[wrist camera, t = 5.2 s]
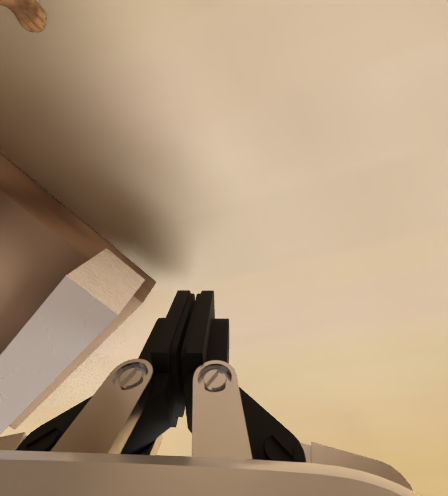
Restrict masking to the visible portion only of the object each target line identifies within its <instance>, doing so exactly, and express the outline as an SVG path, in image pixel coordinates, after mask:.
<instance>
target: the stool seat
mask: <svg viewBox="0 0 448 496" xmlns="http://www.w3.org/2000/svg"><path fill="white" fill-rule="evenodd" d="M106 248H107V249H108V250H110V251H111V252H112V253H113V254H114V255H116V256H117V257H118V258H119V259H120V260H122V261H123V262H124V263H125V264H127V265H128V266H129V267H130V268H131V269H133V270H134V271H135V272H136V273H138V274H139V275H140V276H141V277H142V278H144V279H145V281H144V282H143V283H142V285H141V286H140V287H139V289H138V290H137V291H136V292H135V294H134V295H133V296H132V298H131V299H130V300H129V302H128V303H127V304H126V305H125V307H124V308H123V309H122V311H121V312H120V313H119V315H118V316H117V317H116V318H115V319H114V320H113V321H112V322H111V323H110V324H109V325H108V326H107V327H106V328H105V329H104V330H103V331H102V332H101V333H100V334H99V335H98V336H97V337H96V338H95V339H94V340H93V341H92V342H91V343H90V344H89V345H88V346H87V347H86V348H85V349H84V350H83V351H82V352H81V353H80V354H79V355H78V356H77V357H76V358H75V359H74V360H73V361H72V362H71V363H70V364H69V365H68V366H67V367H66V369H65V370H64V371H63V372H62V373H61V374H60V375H59V376H58V377H57V378H56V379H55V380H54V381H53V382H52V383H51V384H50V385H49V386H48V387H47V388H46V389H45V390H44V391H43V392H42V393H41V394H40V395H39V396H38V397H37V398H36V399H35V400H34V401H33V402H32V403H31V404H30V405H29V406H28V407H27V408H26V409H25V410H24V411H23V412H22V413H21V414H20V415H19V416H18V417H17V418H16V419H15V420H14V421H13V422H12V423H11V424H10V425H9V426H10V427H12V428H13V429H16V428H17V427H18V426H19V425H20V424H21V423H22V422H23V421H24V420H25V419H26V418H27V417H28V416H29V415H30V414H31V413H32V412H33V411H34V410H35V409H36V408H37V407H38V406H39V405H40V404H41V403H42V402H43V401H44V400H45V399H46V398H47V397H48V396H49V395H50V394H51V393H52V392H53V391H54V390H55V389H56V388H57V387H58V386H59V385H60V384H61V383H62V382H63V381H64V380H65V379H66V378H67V377H68V376H69V375H70V374H71V373H72V372H73V371H74V370H75V369H76V368H77V367H78V366H79V365H80V364H81V363H82V362H83V361H84V360H85V359H87V358H88V357H89V356H90V355H91V354H92V353H93V352H94V351H95V350H96V349H97V348H98V347H99V346H100V345H101V344H102V343H103V342H104V341H105V340H106V339H107V338H108V337H109V336H110V335H111V334H112V333H113V332H114V331H115V330H116V329H117V328H118V327H119V326H120V325H121V324H122V323H123V322H124V321H125V320H126V319H127V318H128V317H129V316H130V315H131V314H132V313H133V312H134V311H135V310H136V309H137V308H138V307H139V306H140V305H141V304H142V303H143V301H144V300H145V298H146V297H147V295H148V294H149V292H150V291H151V289H152V288H153V286H154V285H155V283H156V282H155V281H154V280H153V279H151V278H150V277H149V276H148V275H146V274H145V273H144V272H143V271H142V270H140V269H139V268H138V267H137V266H136V265H134V264H133V263H132V262H131V261H130V260H128V259H127V258H126V257H125V256H124V255H122V254H121V253H120V252H119V251H118V250H116V249H115V248H114V247H113V246H112V245H110V244H109V243H108V242H107V241H105V240H104V239H103V238H102V237H101V236H99V235H98V234H97V233H96V232H95V231H93V230H92V229H91V228H90V227H89V226H87V225H86V224H85V223H84V222H83V221H81V220H80V219H79V218H78V217H77V216H75V215H74V214H73V213H72V212H70V211H69V210H68V209H67V208H66V207H64V206H63V205H62V204H61V203H60V202H58V201H57V200H56V199H55V198H54V197H52V196H51V195H50V194H49V193H48V192H46V191H45V190H44V189H43V188H42V187H40V186H39V185H38V184H37V183H35V182H34V181H33V180H32V179H31V178H29V177H28V176H27V175H26V174H25V173H23V172H22V171H21V170H20V169H19V168H17V167H16V166H15V165H14V164H13V163H11V162H10V161H9V160H8V159H7V158H5V157H4V156H3V155H2V154H0V355H1V354H2V352H3V351H4V350H5V349H6V348H7V346H8V345H9V344H10V343H11V342H12V340H13V339H14V338H15V337H16V335H17V334H18V333H19V332H20V331H21V329H22V328H23V327H24V326H25V325H26V323H27V322H28V321H29V320H30V319H31V317H32V316H33V315H34V314H35V312H36V311H37V310H38V309H39V308H40V306H41V305H42V304H43V303H44V302H45V300H46V299H47V298H48V297H49V295H50V294H51V293H52V292H53V291H54V289H55V288H56V287H57V286H58V285H59V283H60V282H61V281H62V280H63V279H64V277H65V276H66V275H67V274H69V273H70V272H72V271H73V270H75V269H76V268H78V267H79V266H81V265H82V264H84V263H85V262H87V261H88V260H90V259H91V258H93V257H94V256H96V255H97V254H99V253H100V252H102V251H103V250H105V249H106Z"/></svg>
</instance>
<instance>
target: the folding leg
mask: <svg viewBox="0 0 448 496" xmlns="http://www.w3.org/2000/svg"><path fill="white" fill-rule="evenodd" d="M144 281H145V279H144V278H142V277H141V276H140V275H139V274H138V273H136V272H135V271H134V270H133V269H131V268H130V267H129V266H128V265H127V264H125V263H124V262H123V261H122V260H120V259H119V258H118V257H117V256H116V255H114V254H113V253H112V252H111V251H110V250H108V249H107V248H106V249H105V250H103V251H102V252H100V253H99V254H97V255H96V256H94V257H93V258H91V259H90V260H88V261H87V262H85V263H84V264H82V265H81V266H79V267H78V268H76V269H75V270H73V271H72V272H70V273H69V274H67V275H66V276H65V277H64V279H63V280H62V281H61V282H60V283H59V285H58V286H57V287H56V288H55V289H54V291H53V292H52V293H51V294H50V295H49V297H48V298H47V299H46V300H45V302H44V303H43V304H42V305H41V306H40V308H39V309H38V310H37V311H36V312H35V314H34V315H33V316H32V317H31V319H30V320H29V321H28V322H27V323H26V325H25V326H24V327H23V328H22V329H21V331H20V332H19V333H18V334H17V335H16V337H15V338H14V339H13V340H12V342H11V343H10V344H9V345H8V346H7V348H6V349H5V350H4V351H3V352H2V354H1V355H0V434H1V433H2V432H3V431H4V430H5V429H6V428H7V427H8V426H9V425H10V424H11V423H12V422H13V421H14V420H15V419H16V418H17V417H18V416H19V415H20V414H21V413H22V412H23V411H24V410H25V409H26V408H27V407H28V406H29V405H30V404H31V403H32V402H33V401H34V400H35V399H36V398H37V397H38V396H39V395H40V394H41V393H42V392H43V391H44V390H45V389H46V388H47V387H48V386H49V385H50V384H51V383H52V382H53V381H54V380H55V379H56V378H57V377H58V376H59V375H60V374H61V373H62V372H63V371H64V370H65V369H66V367H67V366H68V365H69V364H70V363H71V362H72V361H73V360H74V359H75V358H76V357H77V356H78V355H79V354H80V353H81V352H82V351H83V350H84V349H85V348H86V347H87V346H88V345H89V344H90V343H91V342H92V341H93V340H94V339H95V338H96V337H97V336H98V335H99V334H100V333H101V332H102V331H103V330H104V329H105V328H106V327H107V326H108V325H109V324H110V323H111V322H112V321H113V320H114V319H115V318H116V317H117V316H118V315H119V313H120V312H121V311H122V309H123V308H124V307H125V305H126V304H127V303H128V302H129V300H130V299H131V298H132V296H133V295H134V294H135V292H136V291H137V290H138V289H139V287H140V286H141V285H142V283H143V282H144Z"/></svg>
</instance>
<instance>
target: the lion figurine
mask: <svg viewBox="0 0 448 496" xmlns="http://www.w3.org/2000/svg"><path fill="white" fill-rule="evenodd" d="M0 4H1V5H4V6H6V7H8V8H9V9H11V10H12V11H13V12H14V13H15V15H16V16H17V18H18V20H19V22H20V23H21V25H22V26H23V27H24V28H25V29H26V30H28V31H30V32H40V31H42V30H43V29H44V28H45V26H46V18H47V17H46V13H45V11H44V10H43V8H42V7H41V6H40V5H39V4H38V3H37V2H36V1H35V0H0Z"/></svg>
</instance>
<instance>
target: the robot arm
mask: <svg viewBox="0 0 448 496" xmlns="http://www.w3.org/2000/svg"><path fill="white" fill-rule="evenodd" d="M185 406H186V416H187V424H188V429H189V430H190V432H191V433H192V457H185V456H160V455H156V454H157V452H158V449H159V447H160V444H161V440H162V433H164V432H165V431H166V430H167V429H169V428H170V427H176V425H177V420H178V417H183V415H184V410H185ZM0 496H421V495H420V494H418V493H416V492H414V491H413V490H412V488H411V486H410V484H409V483H408V482H407V481H406V479H405V478H404V477H403V476H402V475H401V474H400V473H399V472H398V471H397V470H395V469H394V468H393V467H392V466H390V465H388V464H386V463H383V462H381V461H378V460H375V459H371V458H367V457H364V456H360V455H357V454H353V453H349V452H346V451H342V450H339V449H335V448H332V447H328V446H324V445H321V444H317V443H314V442H311V446H310V445H306V444H303V443H300V442H299V441H298V440H297V438H296V437H295V436H294V435H293V434H292V433H291V432H290V431H289V430H287V429H286V428H285V427H284V426H283V425H282V424H281V423H280V422H278V421H277V420H276V419H275V418H274V417H273V416H272V415H270V414H269V413H268V412H267V411H266V410H265V409H264V408H262V407H261V406H260V405H259V404H258V403H257V402H256V401H255V400H253V399H252V398H251V397H250V396H249V395H248V394H247V393H245V392H244V391H243V390H242V389H241V388H240V387H239V386H238V380H237V375H236V372H235V370H234V368H233V367H232V366H231V365H230V364H229V319H215V312H214V291H202V292H201V294H197V297H196V300H195V295H194V294H191V293H190V291H178V292H177V294H176V296H175V298H174V301H173V303H172V305H171V307H170V310H169V312H168V314H167V316H166V318H159V319H158V320H157V321H156V323H155V325H154V328H153V330H152V332H151V334H150V336H149V338H148V340H147V342H146V344H145V346H144V348H143V350H142V352H141V354H140V356H139V358H138V359H132V360H128V361H126V362H123V363H121V364H120V365H118V366H117V367H116V368H115V369H114V370H113V371H112V372H111V373H110V374H109V376H108V377H107V378H106V380H105V381H104V382H103V384H102V385H101V386H100V387H99V389H98V390H97V391H96V393H95V394H94V395H93V396H92V397H90V398H88V399H86V400H85V401H83V402H81V403H79V404H78V405H76V406H74V407H73V408H71V409H69V410H67V411H66V412H64V413H62V414H60V415H59V416H57V417H55V418H53V419H52V420H50V421H48V422H47V423H45V424H43V425H41V426H40V427H38V428H37V429H35V430H34V431H33V432H31V433H30V434H29V435H28V436H26V434H25V432H23V433H18V434H13V435H8V436H3V437H0Z"/></svg>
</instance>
